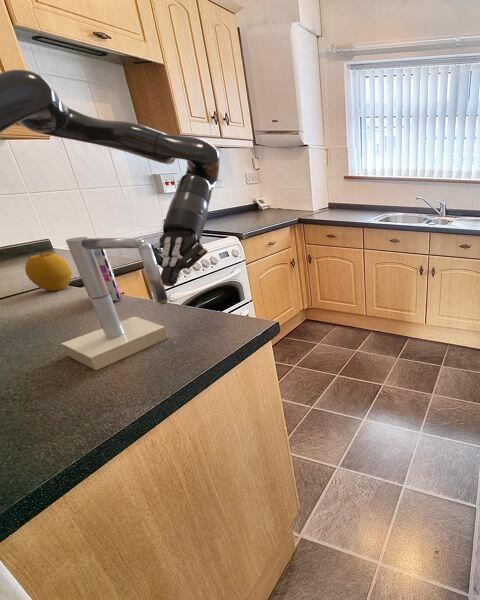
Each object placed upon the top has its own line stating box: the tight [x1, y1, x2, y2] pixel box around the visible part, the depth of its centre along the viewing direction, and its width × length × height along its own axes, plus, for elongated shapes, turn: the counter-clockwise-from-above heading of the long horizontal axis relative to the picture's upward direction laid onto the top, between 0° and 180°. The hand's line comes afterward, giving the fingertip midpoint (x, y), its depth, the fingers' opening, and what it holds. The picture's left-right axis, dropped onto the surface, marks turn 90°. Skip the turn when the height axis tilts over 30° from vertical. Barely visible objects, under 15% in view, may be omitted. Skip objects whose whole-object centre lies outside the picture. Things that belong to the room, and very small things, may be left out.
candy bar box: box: [92, 249, 122, 303], centre depth 96 cm, size 11×5×16 cm, turn 40°
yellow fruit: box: [24, 252, 72, 292], centre depth 103 cm, size 10×10×12 cm
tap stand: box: [61, 294, 169, 371], centre depth 71 cm, size 14×12×12 cm
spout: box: [65, 236, 169, 305], centre depth 67 cm, size 15×3×14 cm, turn 93°
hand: (166, 284), depth 72 cm, fingers closed
